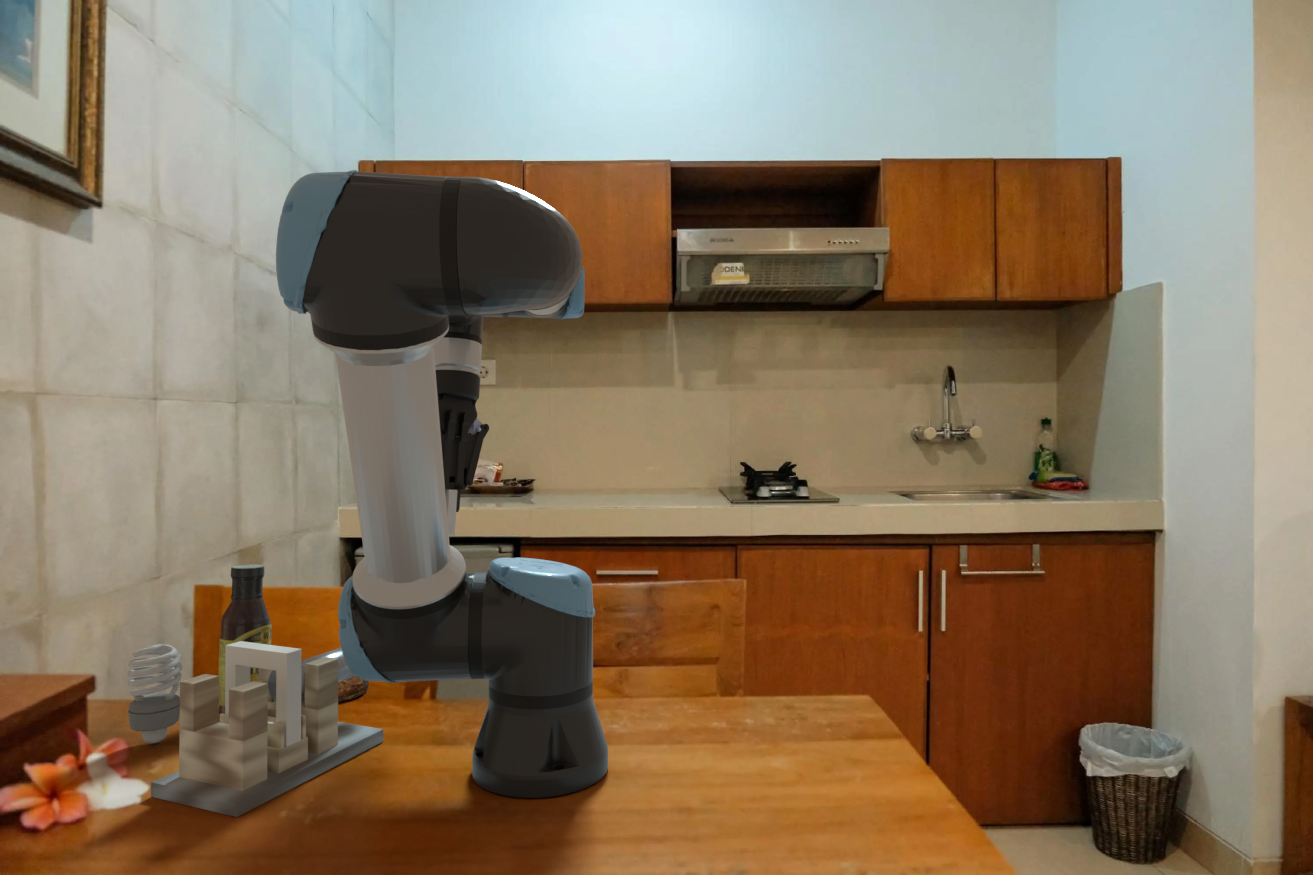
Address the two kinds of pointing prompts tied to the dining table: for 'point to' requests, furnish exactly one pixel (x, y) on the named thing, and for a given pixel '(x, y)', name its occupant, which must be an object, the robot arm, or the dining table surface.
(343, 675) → the shaft
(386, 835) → the dining table surface
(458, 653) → the robot arm
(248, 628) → the sauce bottle
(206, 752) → the grey block assembly base
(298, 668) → the grey arch-shaped block
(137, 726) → the light bulb
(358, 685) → the bread roll
